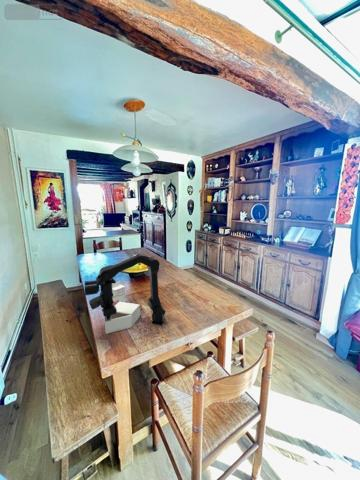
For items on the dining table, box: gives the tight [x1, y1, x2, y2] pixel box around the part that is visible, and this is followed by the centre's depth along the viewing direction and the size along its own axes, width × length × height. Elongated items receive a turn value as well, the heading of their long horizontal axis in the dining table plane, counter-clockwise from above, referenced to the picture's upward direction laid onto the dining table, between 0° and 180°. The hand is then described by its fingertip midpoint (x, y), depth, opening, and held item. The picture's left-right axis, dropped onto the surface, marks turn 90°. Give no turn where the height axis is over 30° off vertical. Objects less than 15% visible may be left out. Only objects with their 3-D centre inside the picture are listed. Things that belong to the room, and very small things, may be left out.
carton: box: [111, 301, 141, 327], centre depth 122 cm, size 14×11×8 cm
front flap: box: [104, 315, 133, 335], centre depth 111 cm, size 14×1×12 cm, turn 116°
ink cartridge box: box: [112, 280, 126, 306], centre depth 141 cm, size 9×5×15 cm, turn 141°
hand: (108, 318), depth 107 cm, fingers closed
